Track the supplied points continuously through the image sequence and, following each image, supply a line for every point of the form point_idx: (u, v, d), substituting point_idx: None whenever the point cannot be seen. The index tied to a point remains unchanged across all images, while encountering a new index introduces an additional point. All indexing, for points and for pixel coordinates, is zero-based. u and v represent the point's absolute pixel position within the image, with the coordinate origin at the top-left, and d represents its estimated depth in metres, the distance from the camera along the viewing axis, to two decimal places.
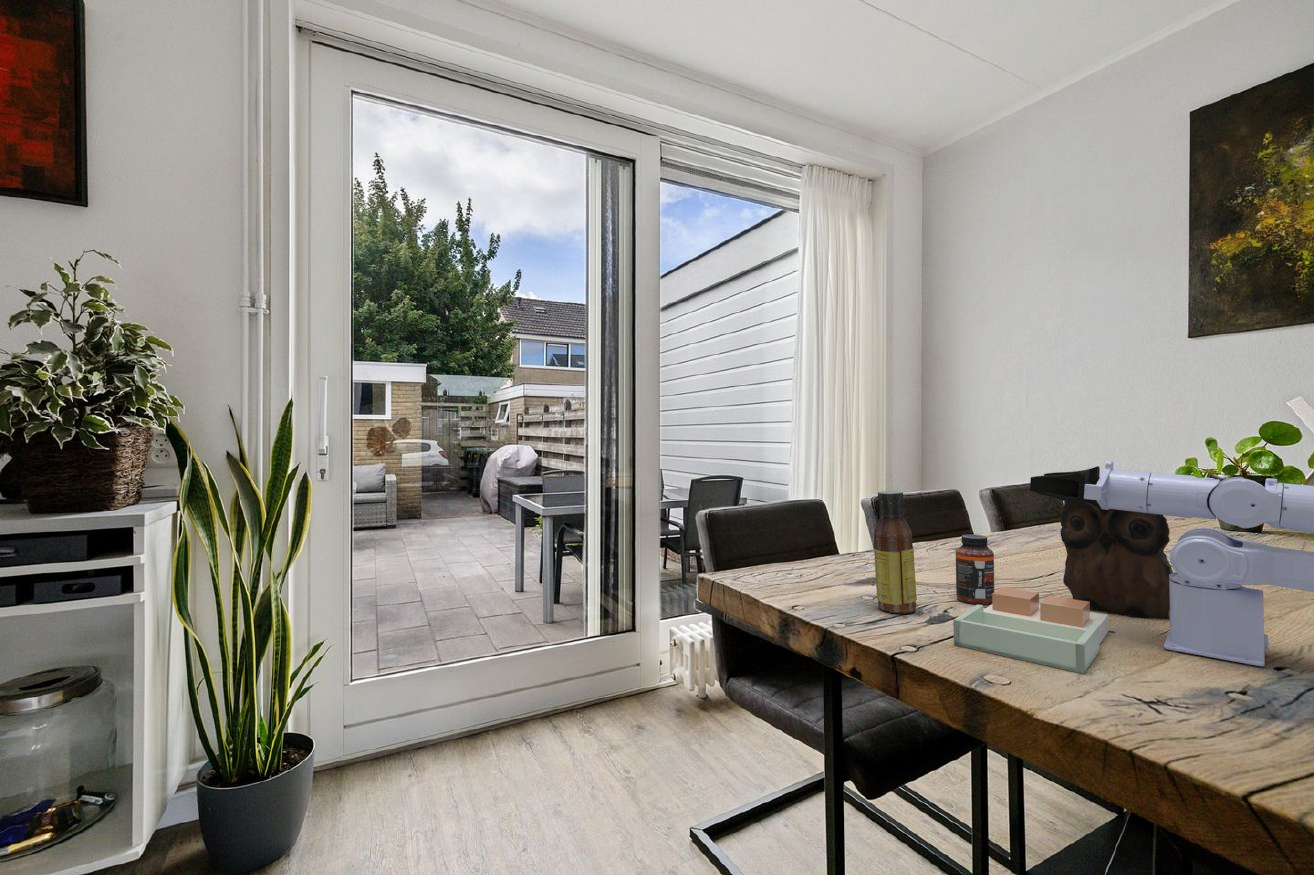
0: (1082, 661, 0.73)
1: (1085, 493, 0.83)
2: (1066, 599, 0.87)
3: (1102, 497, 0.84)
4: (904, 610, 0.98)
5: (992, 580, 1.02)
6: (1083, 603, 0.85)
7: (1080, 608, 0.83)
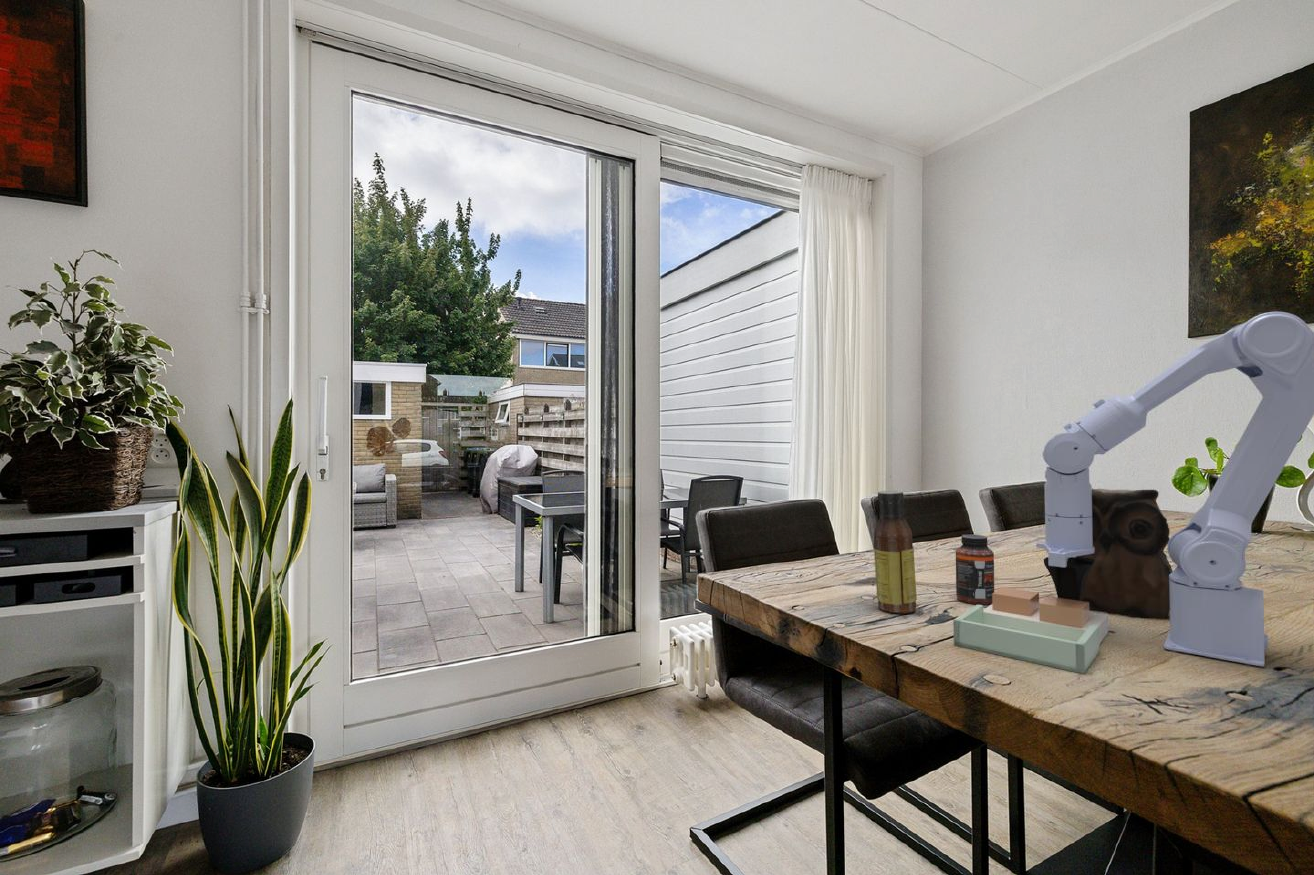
0: (1082, 661, 0.73)
1: (1058, 565, 0.83)
2: (1065, 600, 0.87)
3: (1067, 552, 0.84)
4: (904, 610, 0.98)
5: (992, 580, 1.02)
6: (1082, 604, 0.85)
7: (1079, 609, 0.82)
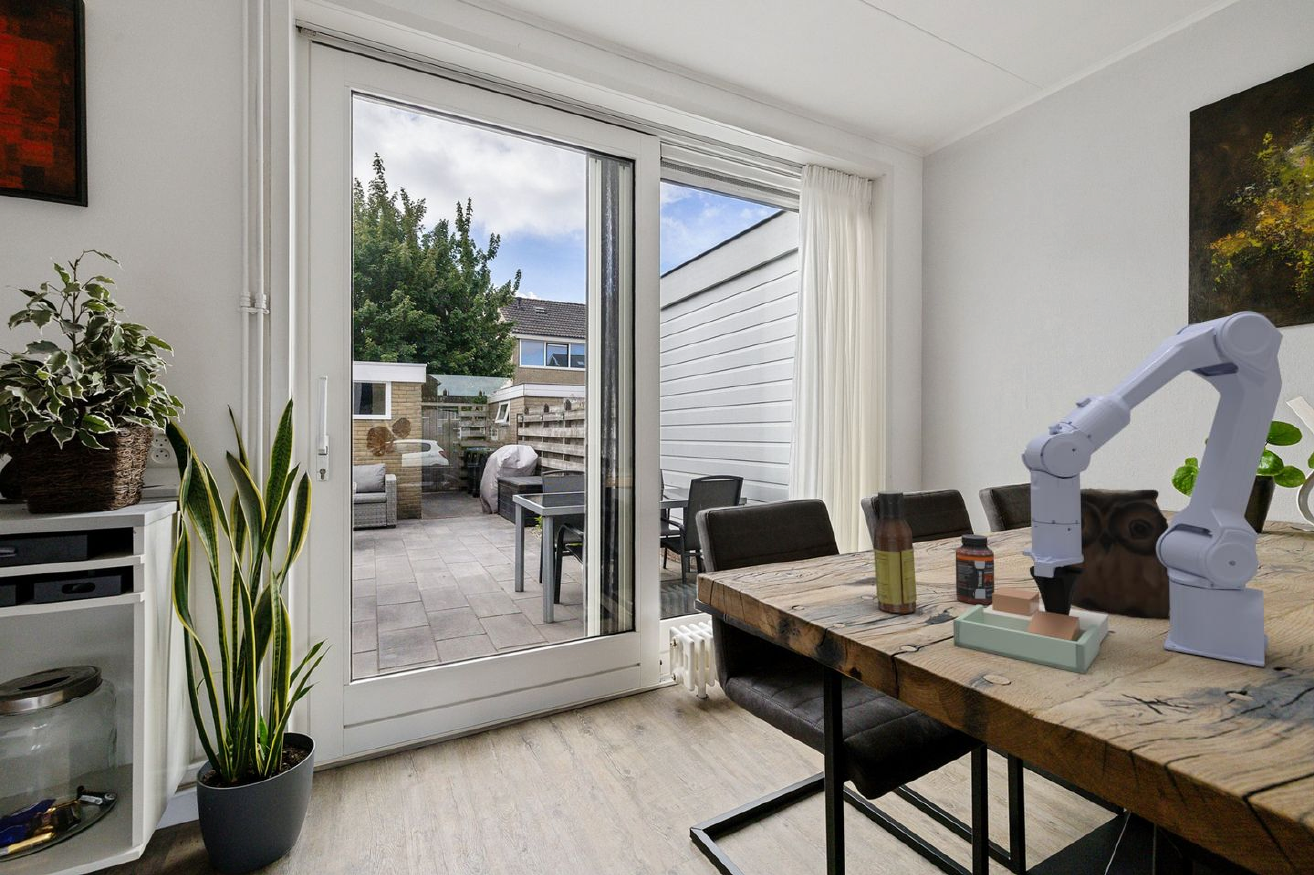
0: (1082, 661, 0.73)
1: (1045, 575, 0.77)
2: (1054, 616, 0.81)
3: (1055, 560, 0.79)
4: (904, 610, 0.98)
5: (992, 580, 1.02)
6: (1072, 623, 0.79)
7: (1069, 637, 0.77)
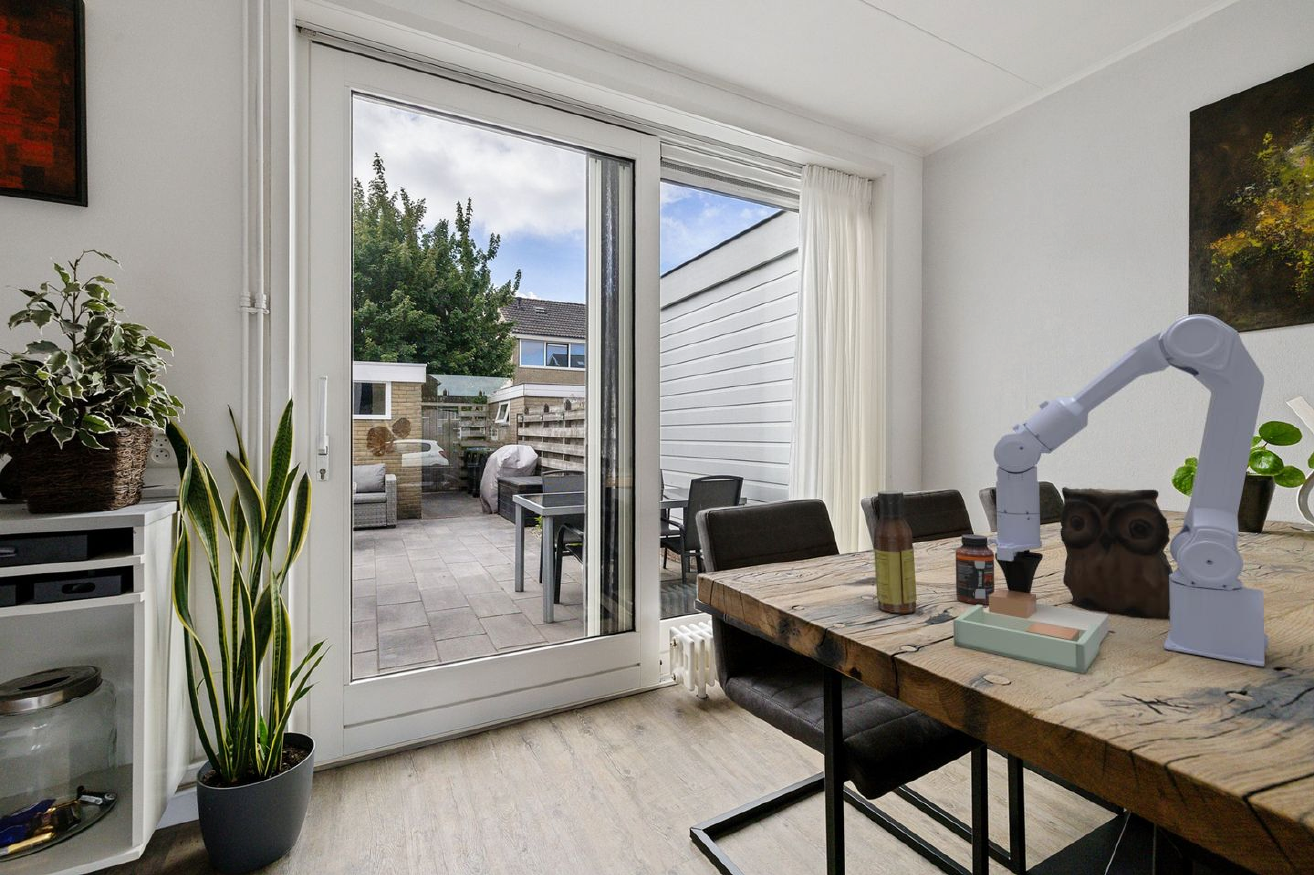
0: (1082, 661, 0.73)
1: (1006, 559, 0.87)
2: (1054, 626, 0.81)
3: None
4: (904, 610, 0.98)
5: (992, 580, 1.02)
6: (1072, 631, 0.79)
7: (1068, 638, 0.77)
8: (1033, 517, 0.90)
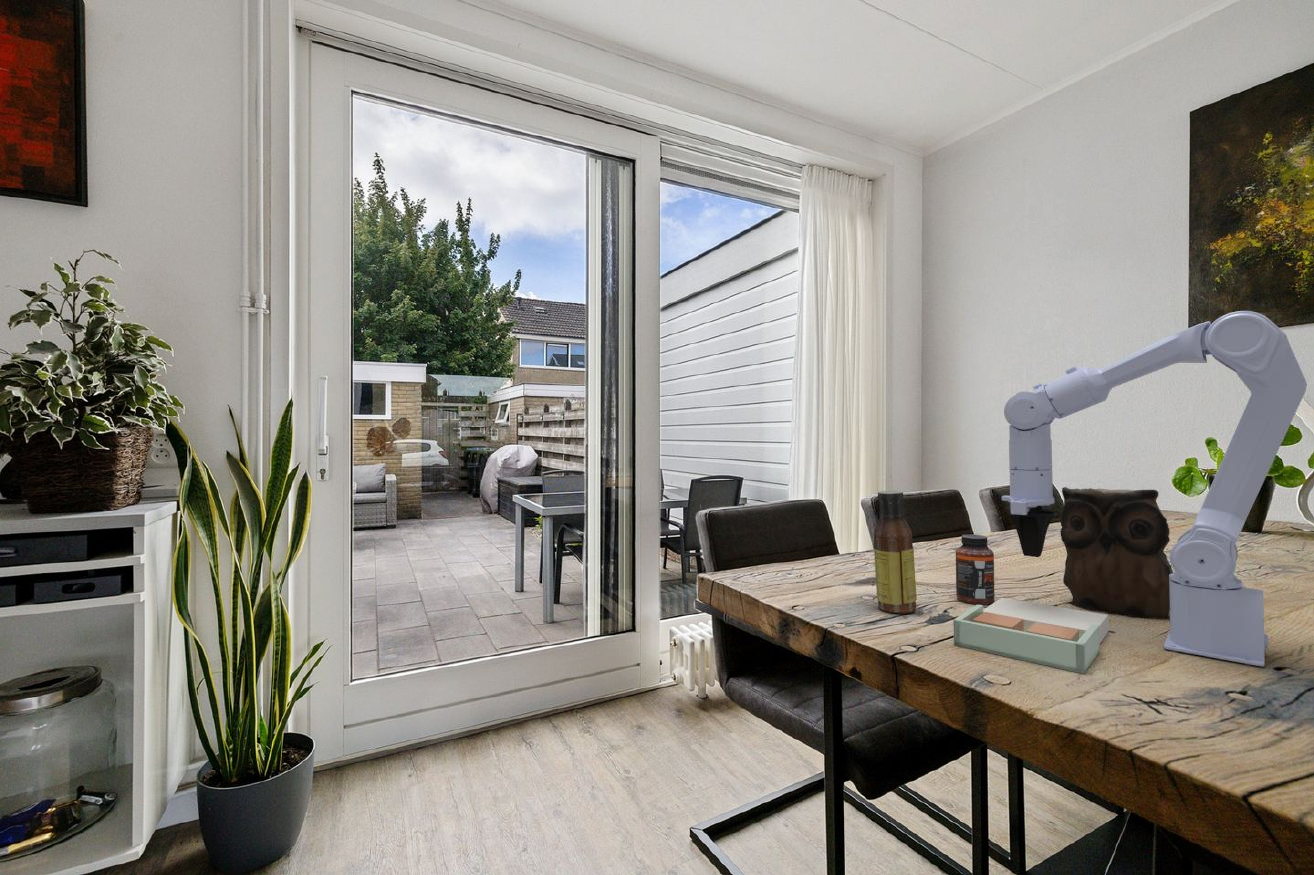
0: (1082, 661, 0.73)
1: (1020, 513, 0.89)
2: (1054, 626, 0.81)
3: None
4: (904, 610, 0.98)
5: (992, 580, 1.02)
6: (1072, 631, 0.79)
7: (1068, 638, 0.77)
8: (1046, 473, 0.91)
